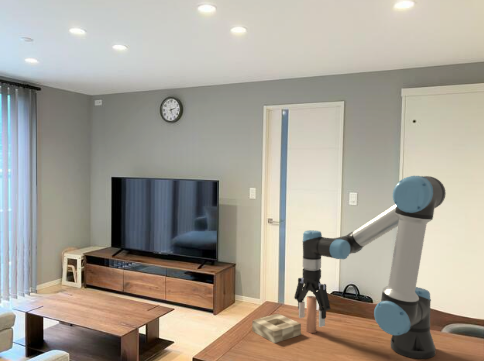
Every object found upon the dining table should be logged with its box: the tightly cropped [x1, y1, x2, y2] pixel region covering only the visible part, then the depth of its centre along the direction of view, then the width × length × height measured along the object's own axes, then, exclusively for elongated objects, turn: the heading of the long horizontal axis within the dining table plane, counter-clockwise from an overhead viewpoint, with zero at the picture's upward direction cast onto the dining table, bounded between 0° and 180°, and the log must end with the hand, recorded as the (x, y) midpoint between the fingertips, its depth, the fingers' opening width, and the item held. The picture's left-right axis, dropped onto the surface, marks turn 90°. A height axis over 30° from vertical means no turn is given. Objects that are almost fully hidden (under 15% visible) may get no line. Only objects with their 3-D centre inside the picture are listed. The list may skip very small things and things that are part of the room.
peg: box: [306, 295, 318, 334], centre depth 157 cm, size 4×4×14 cm
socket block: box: [251, 313, 302, 344], centre depth 155 cm, size 14×14×4 cm
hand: (311, 321), depth 157 cm, fingers open, 11 cm apart
